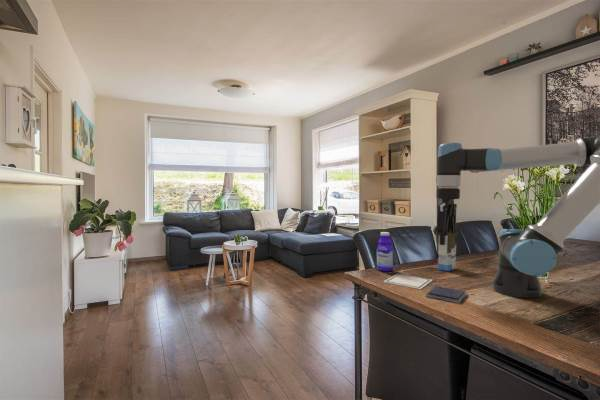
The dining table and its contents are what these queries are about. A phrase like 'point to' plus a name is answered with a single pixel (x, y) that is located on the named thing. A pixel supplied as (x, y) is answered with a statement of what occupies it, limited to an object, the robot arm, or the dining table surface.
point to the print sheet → (408, 281)
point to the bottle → (385, 253)
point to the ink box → (447, 261)
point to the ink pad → (446, 294)
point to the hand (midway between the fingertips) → (445, 252)
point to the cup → (449, 240)
